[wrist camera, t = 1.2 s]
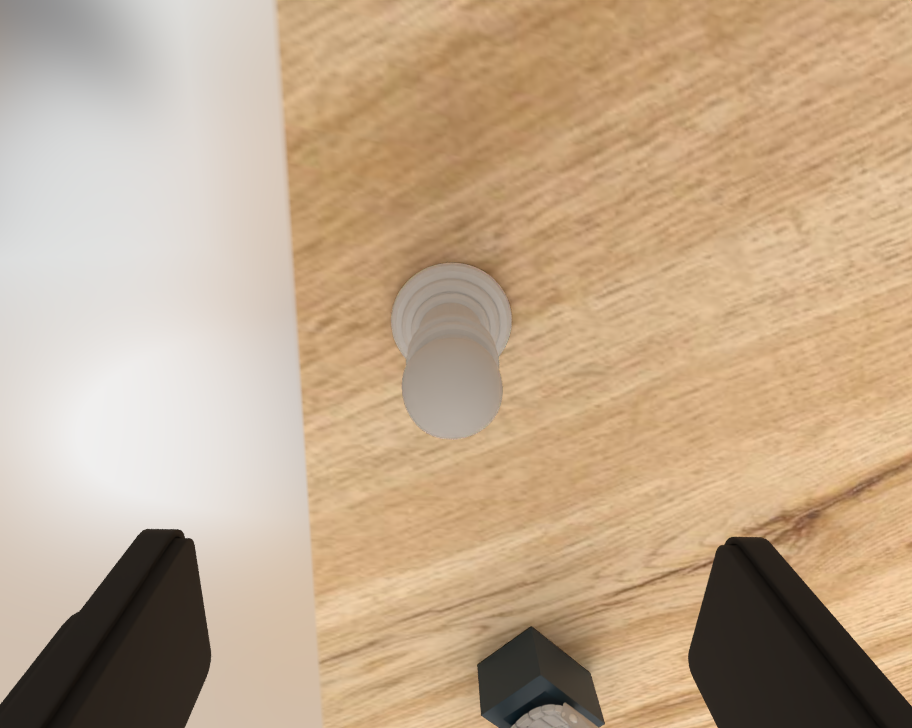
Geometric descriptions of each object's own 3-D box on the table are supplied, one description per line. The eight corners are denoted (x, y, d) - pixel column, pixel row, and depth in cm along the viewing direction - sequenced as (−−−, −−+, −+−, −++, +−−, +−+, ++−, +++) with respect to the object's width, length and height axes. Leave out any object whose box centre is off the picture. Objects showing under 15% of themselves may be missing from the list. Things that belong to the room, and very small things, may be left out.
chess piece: (408, 384, 26) (394, 500, 17) (377, 275, 24) (344, 346, 15) (519, 359, 25) (560, 465, 17) (497, 247, 23) (530, 304, 15)
